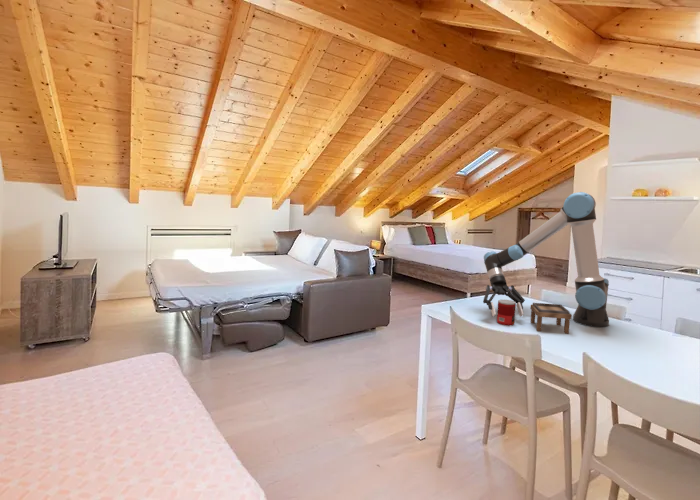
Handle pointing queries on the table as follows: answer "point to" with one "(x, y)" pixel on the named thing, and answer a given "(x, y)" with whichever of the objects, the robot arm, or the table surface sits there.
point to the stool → (550, 314)
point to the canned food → (506, 312)
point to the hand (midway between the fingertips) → (508, 315)
